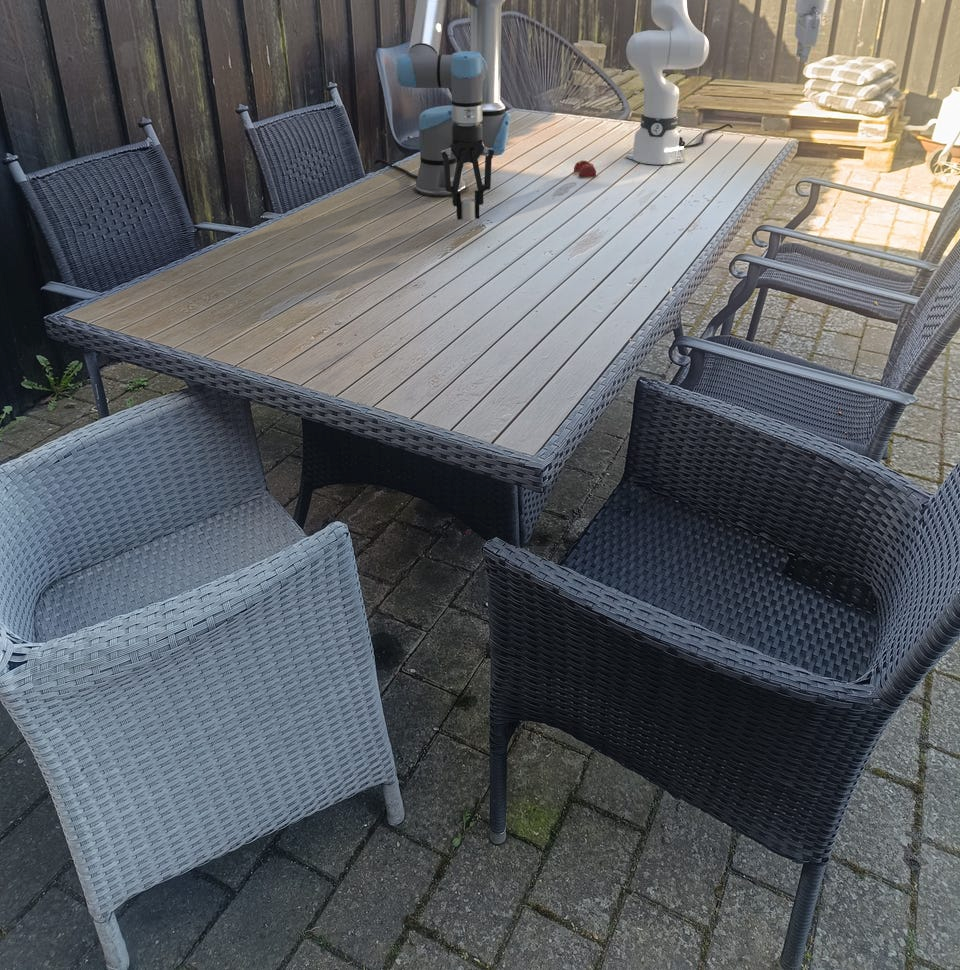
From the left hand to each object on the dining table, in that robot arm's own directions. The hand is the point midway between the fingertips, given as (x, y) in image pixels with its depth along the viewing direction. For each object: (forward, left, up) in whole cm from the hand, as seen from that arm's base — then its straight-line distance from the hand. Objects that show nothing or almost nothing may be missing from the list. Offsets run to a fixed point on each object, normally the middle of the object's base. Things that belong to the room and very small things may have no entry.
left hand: (467, 217), depth 220 cm
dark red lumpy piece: (-8, +69, -6) cm, 70 cm away
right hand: (+42, +104, +29) cm, 116 cm away
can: (0, 0, 0) cm, 0 cm away
